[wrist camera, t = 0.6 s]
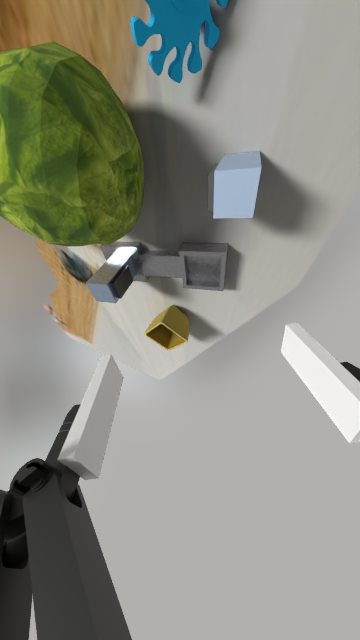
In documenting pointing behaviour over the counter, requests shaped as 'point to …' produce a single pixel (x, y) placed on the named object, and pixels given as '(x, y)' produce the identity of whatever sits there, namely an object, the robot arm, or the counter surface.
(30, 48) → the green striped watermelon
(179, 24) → the blue splash shape
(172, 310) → the flower pot
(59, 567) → the robot arm
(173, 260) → the grey piece
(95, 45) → the counter surface
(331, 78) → the counter surface
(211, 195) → the blue block
